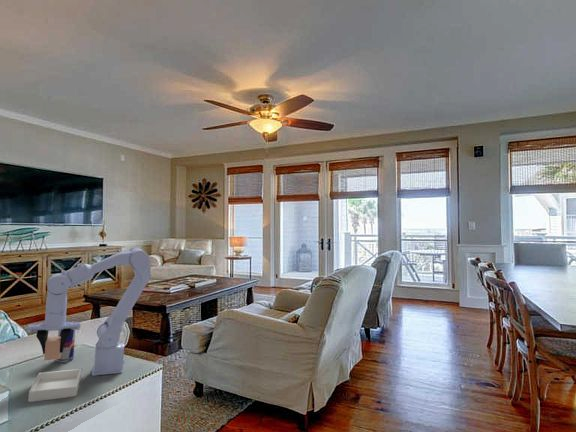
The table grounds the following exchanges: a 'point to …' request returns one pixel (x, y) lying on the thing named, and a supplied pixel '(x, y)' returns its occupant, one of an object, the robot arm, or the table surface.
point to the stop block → (52, 348)
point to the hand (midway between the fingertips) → (53, 352)
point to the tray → (55, 385)
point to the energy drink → (67, 347)
